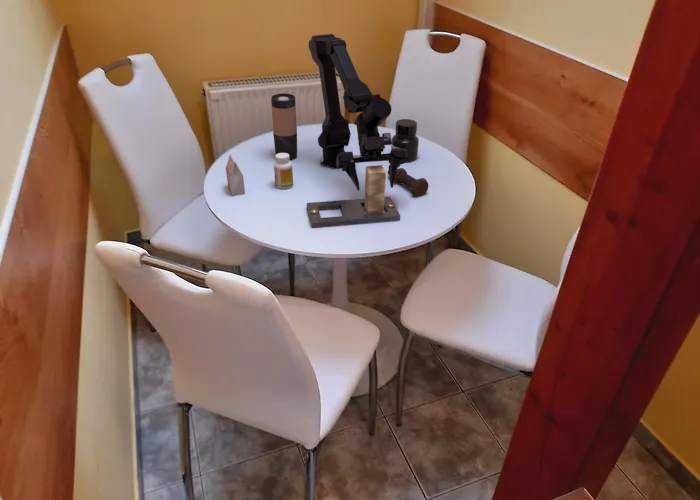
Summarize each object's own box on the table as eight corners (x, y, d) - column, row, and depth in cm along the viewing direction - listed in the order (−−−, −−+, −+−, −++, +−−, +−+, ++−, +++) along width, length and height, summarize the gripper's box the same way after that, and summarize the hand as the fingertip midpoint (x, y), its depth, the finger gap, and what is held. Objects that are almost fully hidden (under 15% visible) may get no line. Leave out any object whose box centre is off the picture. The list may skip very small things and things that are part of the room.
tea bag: (240, 184, 161) (236, 153, 155) (245, 194, 156) (241, 162, 150) (227, 186, 160) (223, 155, 154) (232, 196, 155) (228, 164, 149)
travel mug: (302, 155, 179) (300, 96, 168) (288, 163, 173) (285, 102, 162) (284, 150, 182) (281, 91, 171) (270, 157, 177) (265, 98, 166)
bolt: (392, 181, 168) (422, 199, 157) (381, 177, 165) (411, 195, 154) (400, 164, 166) (431, 181, 156) (389, 160, 163) (420, 177, 152)
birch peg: (367, 216, 146) (369, 173, 138) (364, 208, 149) (365, 166, 142) (383, 215, 146) (385, 172, 139) (379, 207, 150) (381, 165, 143)
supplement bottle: (296, 183, 162) (295, 153, 156) (287, 191, 158) (285, 160, 152) (281, 179, 163) (279, 150, 158) (271, 187, 159) (269, 157, 154)
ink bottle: (391, 150, 183) (393, 116, 176) (416, 152, 182) (419, 117, 176) (390, 162, 175) (392, 127, 168) (417, 164, 174) (420, 128, 168)
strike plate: (311, 228, 141) (311, 221, 139) (306, 207, 149) (306, 200, 148) (400, 220, 144) (400, 213, 143) (390, 201, 153) (390, 194, 152)
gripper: (337, 123, 137) (345, 181, 134) (408, 119, 140) (416, 176, 137) (333, 140, 147) (339, 194, 145) (398, 136, 150) (406, 189, 148)
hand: (375, 188), depth 143 cm, fingers open, 9 cm apart
